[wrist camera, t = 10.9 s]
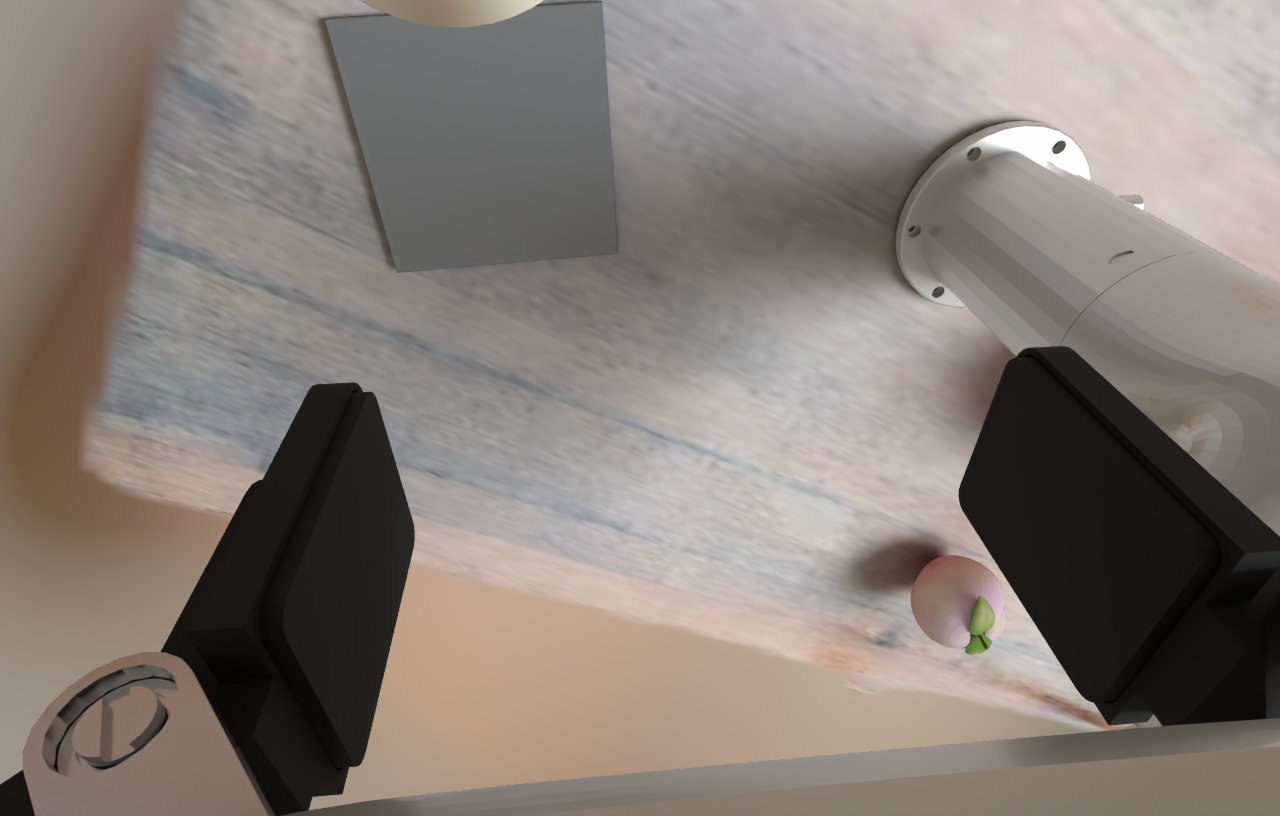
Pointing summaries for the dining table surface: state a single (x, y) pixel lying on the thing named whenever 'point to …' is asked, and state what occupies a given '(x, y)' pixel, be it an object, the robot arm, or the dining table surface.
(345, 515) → the robot arm
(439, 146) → the mat
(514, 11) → the lid
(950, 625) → the decorative fruit
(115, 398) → the dining table surface
